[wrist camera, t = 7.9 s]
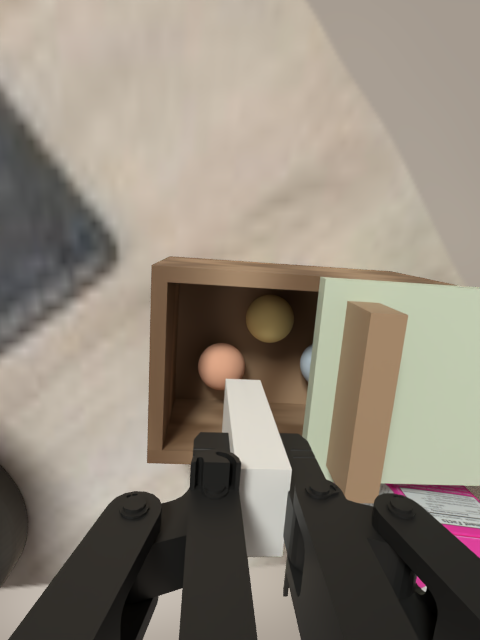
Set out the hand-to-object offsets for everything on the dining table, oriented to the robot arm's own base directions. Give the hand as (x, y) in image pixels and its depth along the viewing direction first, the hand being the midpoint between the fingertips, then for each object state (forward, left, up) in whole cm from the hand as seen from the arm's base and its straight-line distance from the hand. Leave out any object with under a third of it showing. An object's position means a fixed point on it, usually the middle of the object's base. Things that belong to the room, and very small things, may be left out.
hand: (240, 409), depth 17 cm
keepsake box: (+3, 0, -12) cm, 13 cm away
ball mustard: (+2, +2, -11) cm, 12 cm away
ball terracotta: (-1, -1, -11) cm, 11 cm away
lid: (+12, 0, -4) cm, 13 cm away
